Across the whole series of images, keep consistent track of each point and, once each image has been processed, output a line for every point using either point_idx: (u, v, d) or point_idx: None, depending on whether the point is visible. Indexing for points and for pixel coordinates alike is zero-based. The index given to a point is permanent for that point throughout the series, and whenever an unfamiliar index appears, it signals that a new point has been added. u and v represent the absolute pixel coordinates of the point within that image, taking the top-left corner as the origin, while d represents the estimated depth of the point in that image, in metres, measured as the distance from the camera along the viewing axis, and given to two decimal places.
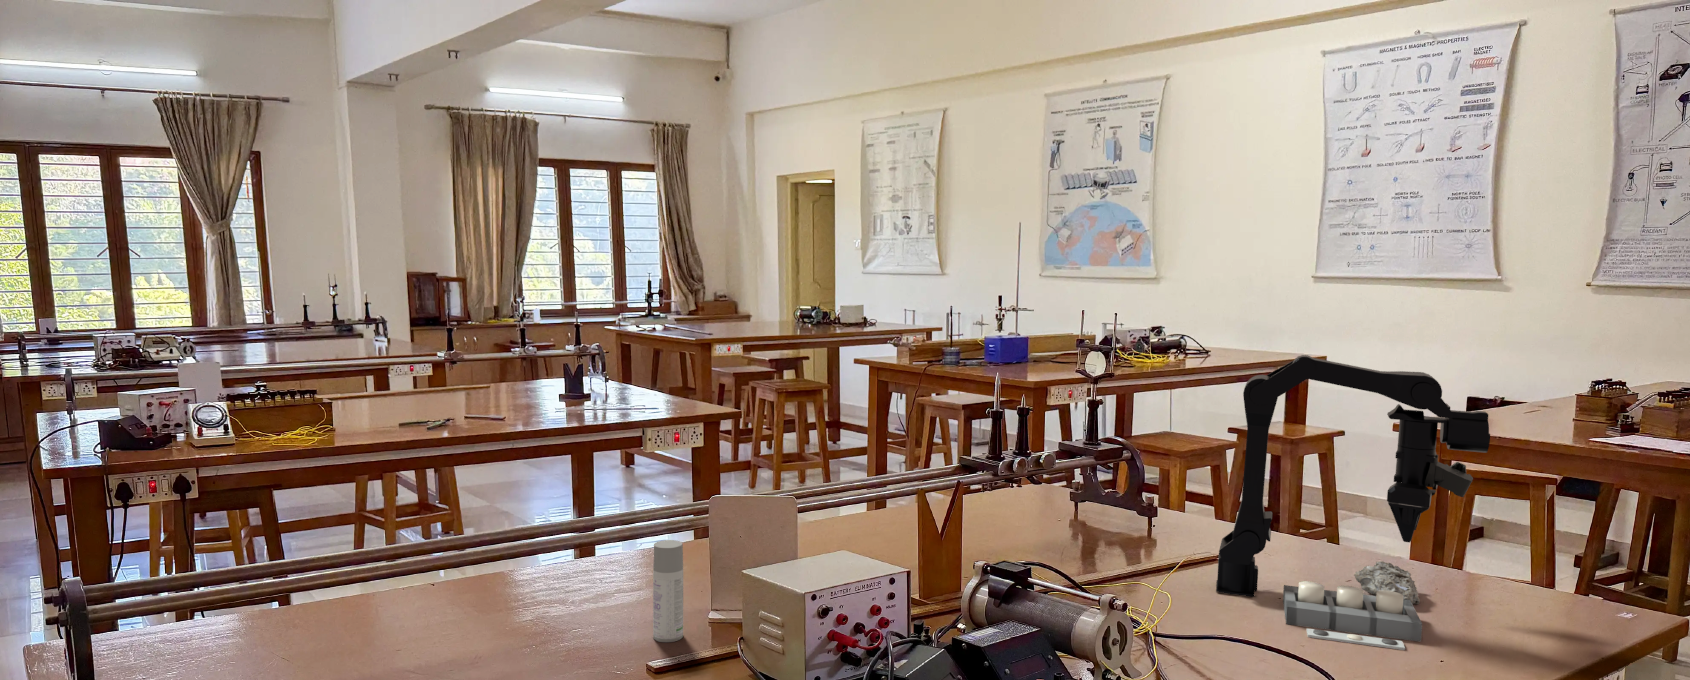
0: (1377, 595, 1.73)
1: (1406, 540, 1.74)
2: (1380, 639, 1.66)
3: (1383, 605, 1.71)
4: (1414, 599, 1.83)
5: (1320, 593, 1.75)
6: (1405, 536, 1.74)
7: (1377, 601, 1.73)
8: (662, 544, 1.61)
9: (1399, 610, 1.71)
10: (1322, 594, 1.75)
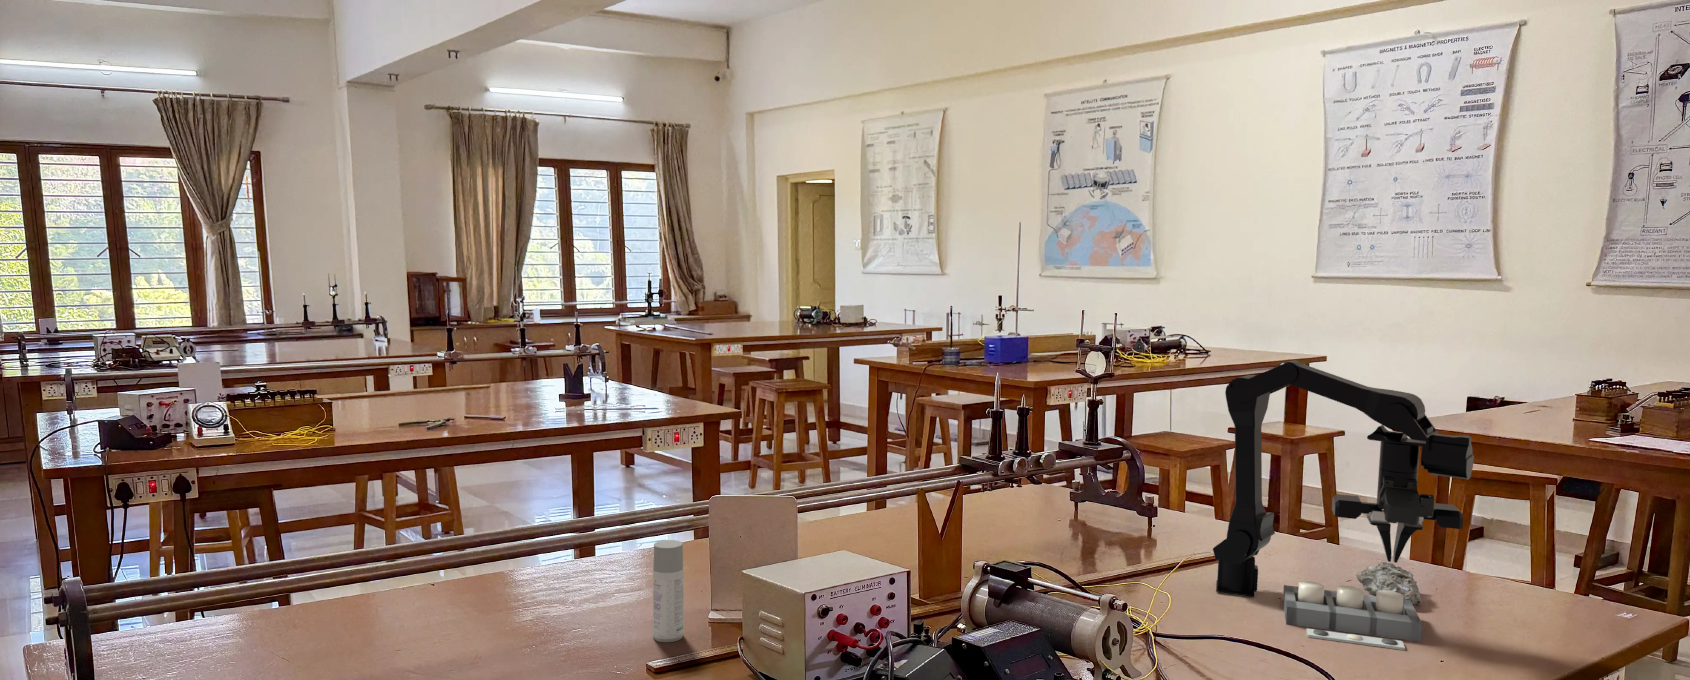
0: (1377, 595, 1.73)
1: (1387, 559, 1.72)
2: (1380, 639, 1.66)
3: (1383, 605, 1.71)
4: (1416, 599, 1.82)
5: (1320, 593, 1.75)
6: None
7: (1377, 601, 1.73)
8: (662, 544, 1.61)
9: (1399, 610, 1.71)
10: (1322, 594, 1.75)
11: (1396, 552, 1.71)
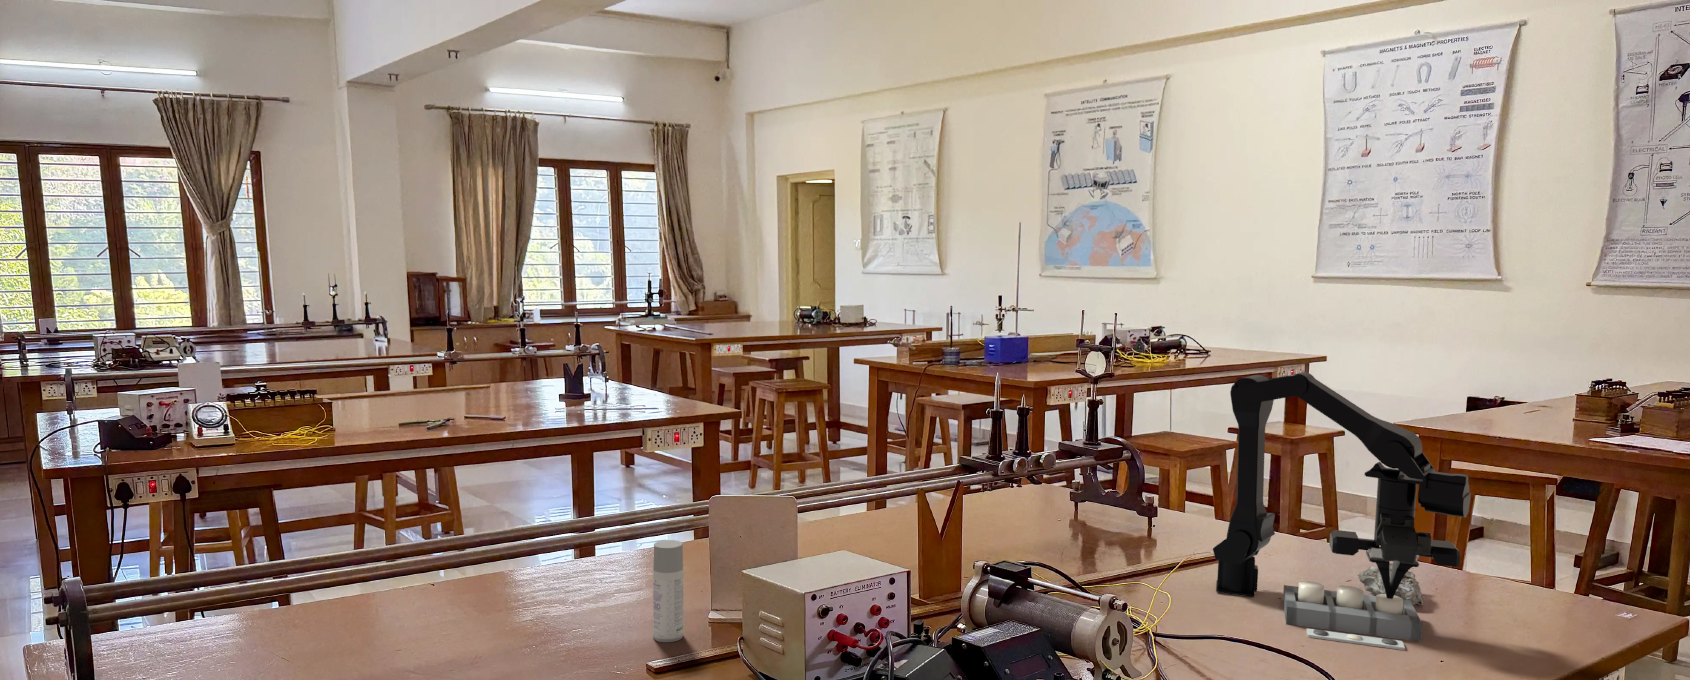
0: (1377, 599, 1.73)
1: (1386, 595, 1.73)
2: (1380, 639, 1.66)
3: (1383, 608, 1.72)
4: (1417, 600, 1.82)
5: (1320, 593, 1.75)
6: None
7: (1377, 605, 1.73)
8: (662, 544, 1.61)
9: (1399, 613, 1.71)
10: (1322, 594, 1.75)
11: (1392, 588, 1.72)
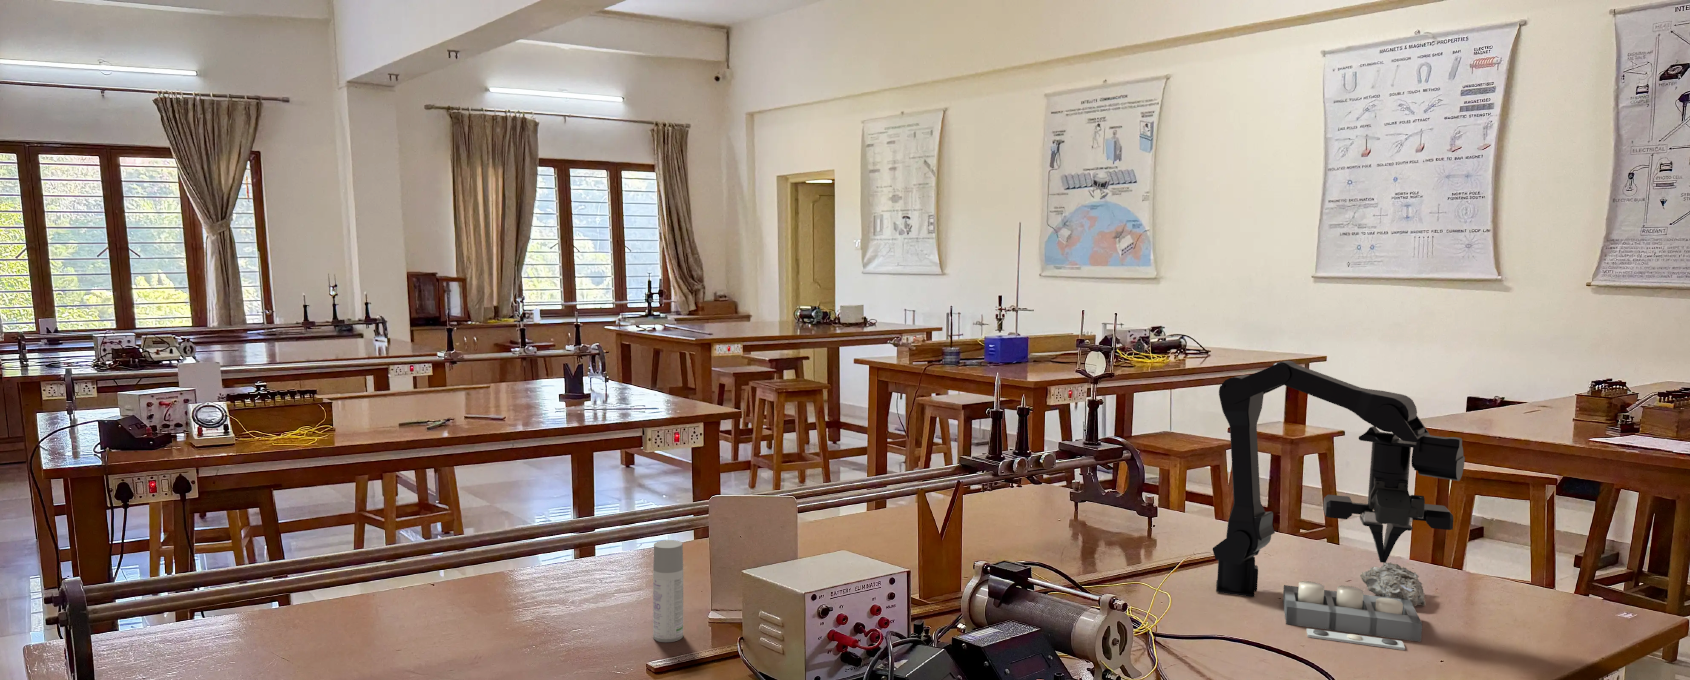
0: (1376, 603, 1.73)
1: (1379, 559, 1.73)
2: (1380, 639, 1.66)
3: None
4: (1419, 600, 1.82)
5: (1320, 593, 1.75)
6: None
7: (1376, 609, 1.73)
8: (662, 544, 1.61)
9: None
10: (1322, 594, 1.75)
11: (1385, 552, 1.72)
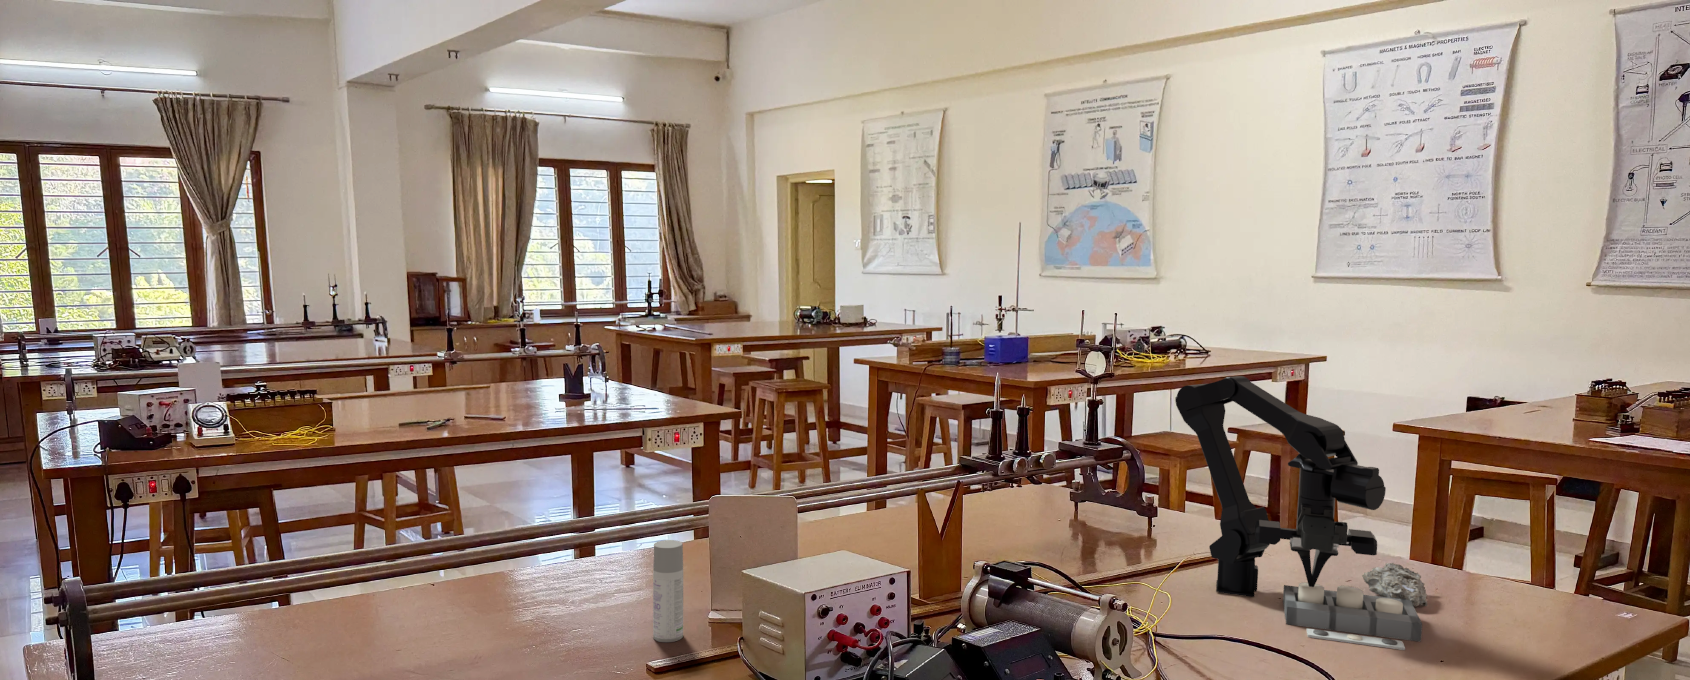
0: (1376, 603, 1.73)
1: (1308, 583, 1.77)
2: (1380, 639, 1.66)
3: None
4: (1421, 601, 1.82)
5: (1320, 594, 1.75)
6: None
7: (1376, 609, 1.73)
8: (662, 544, 1.61)
9: None
10: (1322, 595, 1.75)
11: (1313, 577, 1.76)
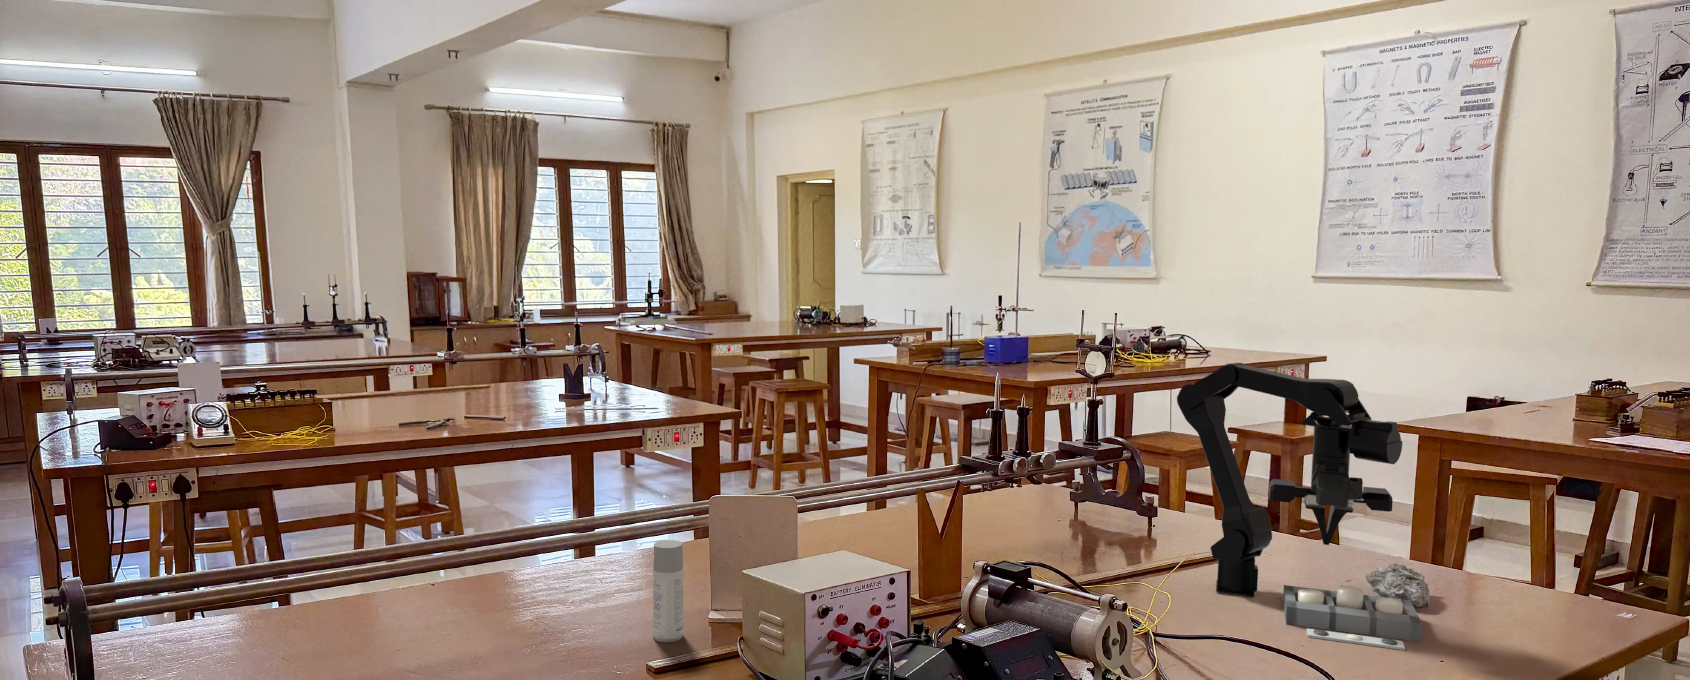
0: (1376, 603, 1.73)
1: (1323, 542, 1.76)
2: (1380, 639, 1.66)
3: None
4: (1424, 602, 1.81)
5: (1320, 600, 1.75)
6: None
7: (1376, 609, 1.73)
8: (662, 544, 1.61)
9: None
10: (1322, 602, 1.75)
11: (1328, 535, 1.75)
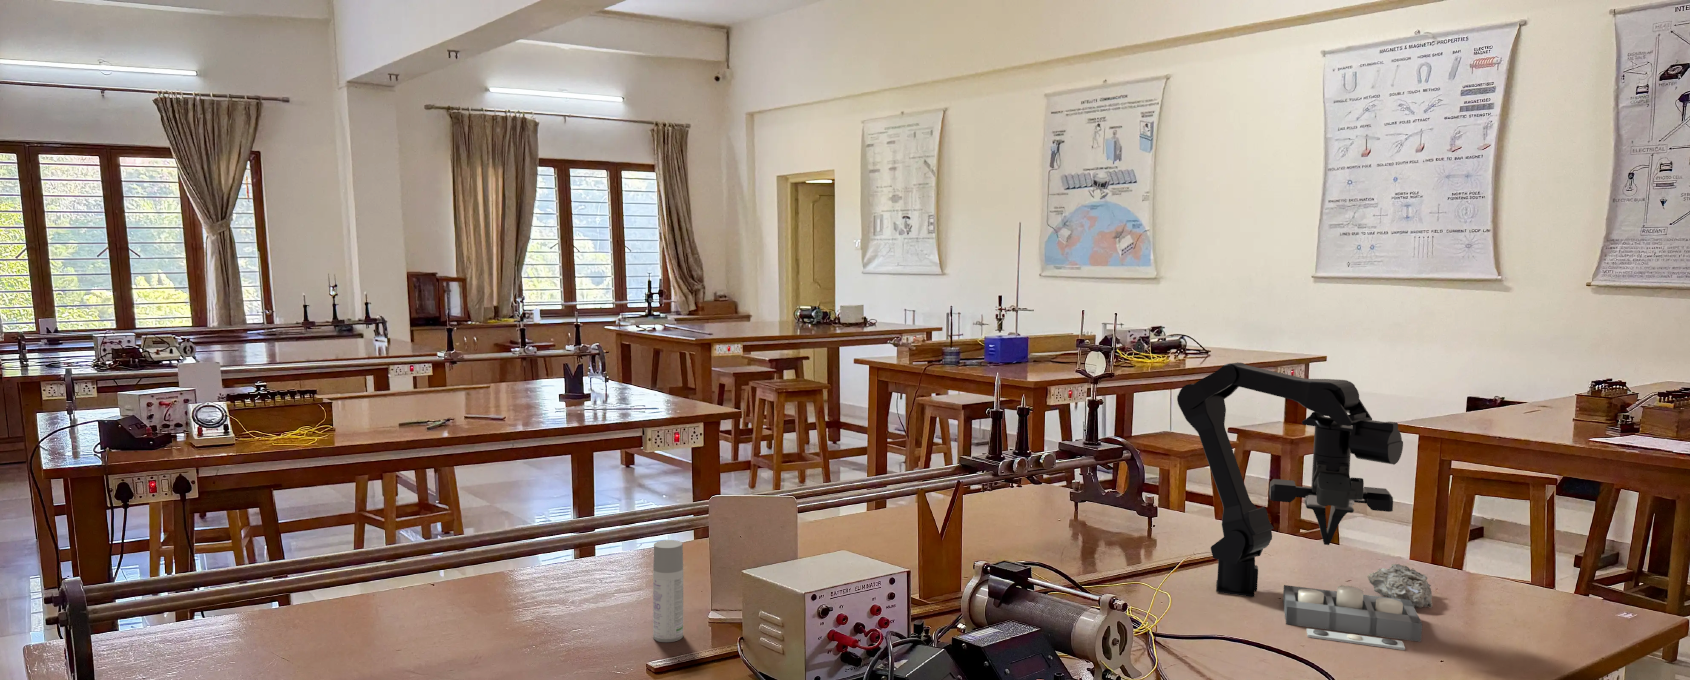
0: (1376, 603, 1.73)
1: None
2: (1380, 639, 1.66)
3: None
4: (1426, 602, 1.81)
5: (1320, 600, 1.75)
6: None
7: (1376, 609, 1.73)
8: (662, 544, 1.61)
9: None
10: (1322, 602, 1.75)
11: (1328, 535, 1.75)
